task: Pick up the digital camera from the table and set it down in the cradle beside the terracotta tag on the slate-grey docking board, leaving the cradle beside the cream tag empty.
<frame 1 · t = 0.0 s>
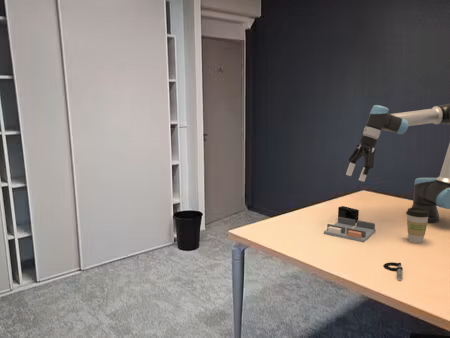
hand: (354, 178, 190), 28 cm above the table, tool tilted 20°, fingers open, 13 cm apart
digital camera: (347, 221, 213), on the table
docking board: (349, 232, 194), on the table
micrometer: (392, 272, 151), on the table
coffee cup: (415, 241, 182), on the table
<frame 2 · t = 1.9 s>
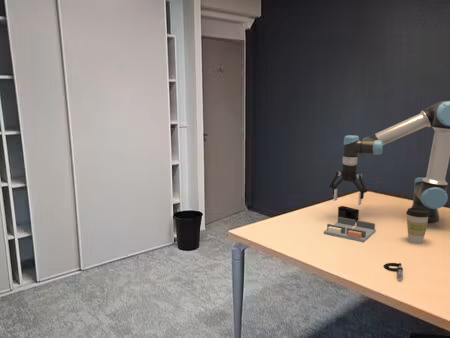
hand: (347, 202, 211), 10 cm above the table, tool pointing down, fingers open, 13 cm apart
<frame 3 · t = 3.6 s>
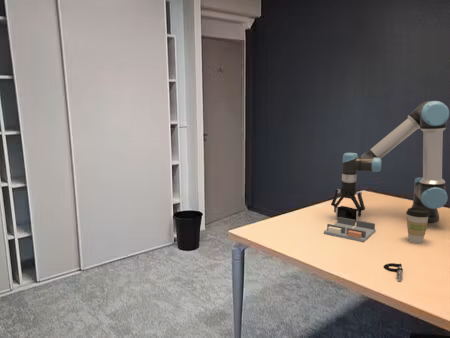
hand: (347, 220, 213), 0 cm above the table, tool pointing down, fingers open, 11 cm apart
digital camera: (347, 220, 213), on the table, touching gripper
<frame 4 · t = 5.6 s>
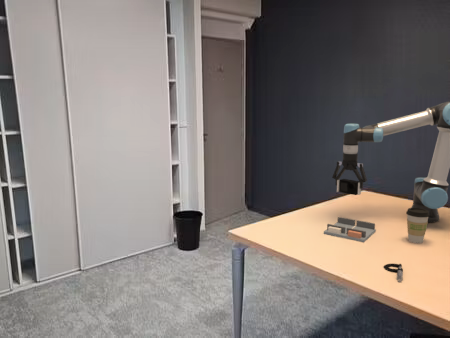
hand: (348, 192, 209), 16 cm above the table, tool pointing down, fingers closed on digital camera, 11 cm apart
digital camera: (348, 193, 210), point 15 cm above the table, touching gripper
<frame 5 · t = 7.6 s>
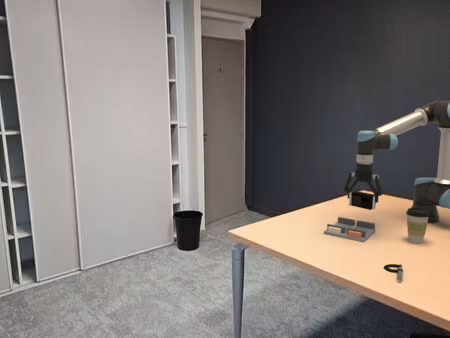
hand: (362, 207, 189), 14 cm above the table, tool pointing down, fingers closed on digital camera, 11 cm apart
digital camera: (362, 207, 190), point 13 cm above the table, touching gripper
when the fingers open (2 cm above the table, at t = 10.5 s): digital camera stays where it is, resting on docking board.
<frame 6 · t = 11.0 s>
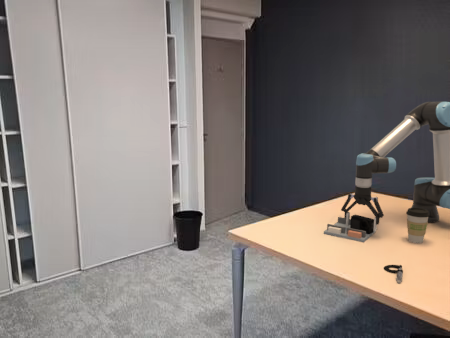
hand: (361, 227, 191), 3 cm above the table, tool pointing down, fingers open, 13 cm apart
digital camera: (360, 231, 192), point 1 cm above the table, touching docking board
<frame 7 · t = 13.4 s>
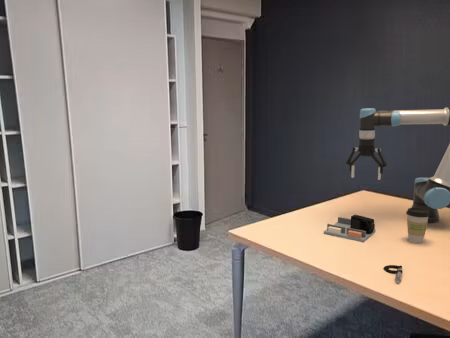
hand: (365, 178, 203), 25 cm above the table, tool pointing down, fingers open, 13 cm apart
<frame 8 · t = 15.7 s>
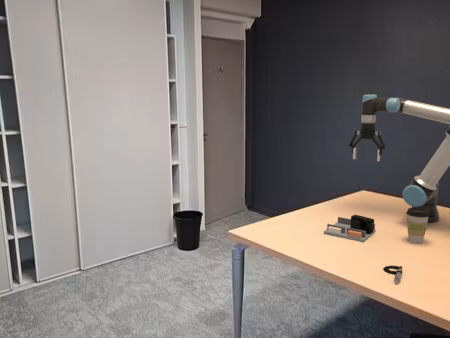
hand: (366, 160, 219), 32 cm above the table, tool pointing down, fingers open, 13 cm apart
at the end: digital camera 0.5 cm from the target spot on the docking board, point 1.1 cm above the docking board's base; digital camera tilted 1°; the gripper is holding nothing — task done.
